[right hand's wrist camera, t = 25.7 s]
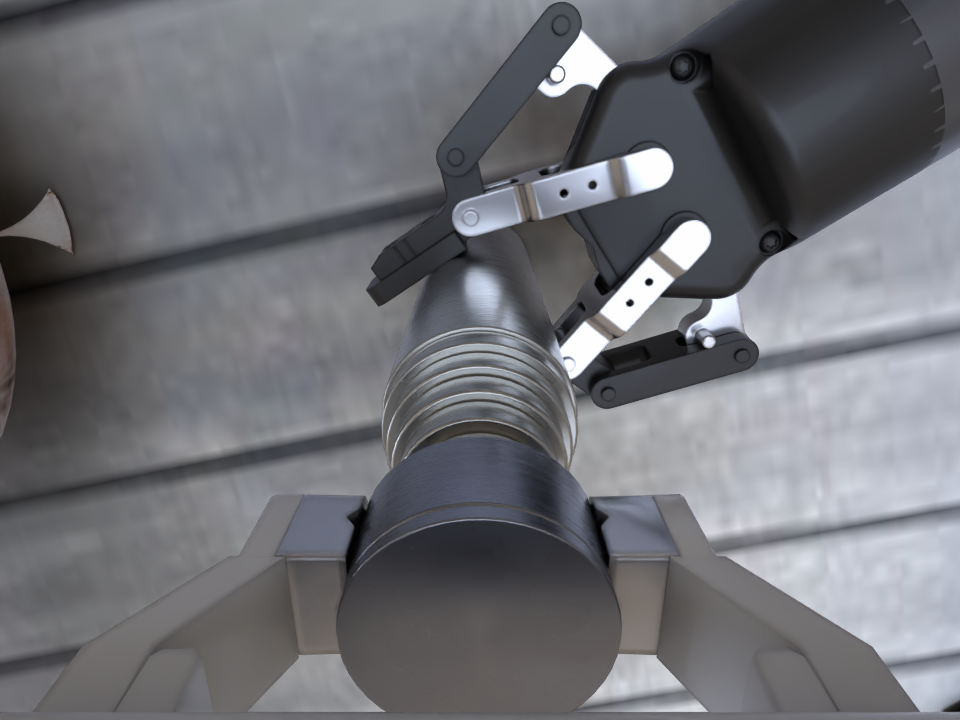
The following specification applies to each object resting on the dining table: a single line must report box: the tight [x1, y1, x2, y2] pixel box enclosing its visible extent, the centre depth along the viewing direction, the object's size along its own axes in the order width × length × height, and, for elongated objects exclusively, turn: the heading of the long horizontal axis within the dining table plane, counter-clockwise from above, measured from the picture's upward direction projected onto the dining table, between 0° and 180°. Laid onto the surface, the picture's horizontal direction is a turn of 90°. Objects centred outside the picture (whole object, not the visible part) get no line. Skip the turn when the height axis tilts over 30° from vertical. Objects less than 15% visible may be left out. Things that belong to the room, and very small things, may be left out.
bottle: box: [381, 227, 578, 471], centre depth 19 cm, size 4×4×21 cm
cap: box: [336, 437, 622, 712], centre depth 9 cm, size 4×4×2 cm
